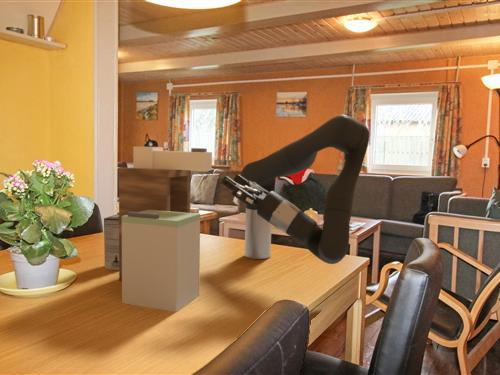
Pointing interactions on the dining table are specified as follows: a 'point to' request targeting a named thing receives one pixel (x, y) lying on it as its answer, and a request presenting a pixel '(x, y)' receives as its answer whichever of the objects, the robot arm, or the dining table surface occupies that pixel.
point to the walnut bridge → (152, 193)
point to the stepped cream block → (172, 159)
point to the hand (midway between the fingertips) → (229, 178)
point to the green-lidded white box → (160, 259)
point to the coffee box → (111, 242)
